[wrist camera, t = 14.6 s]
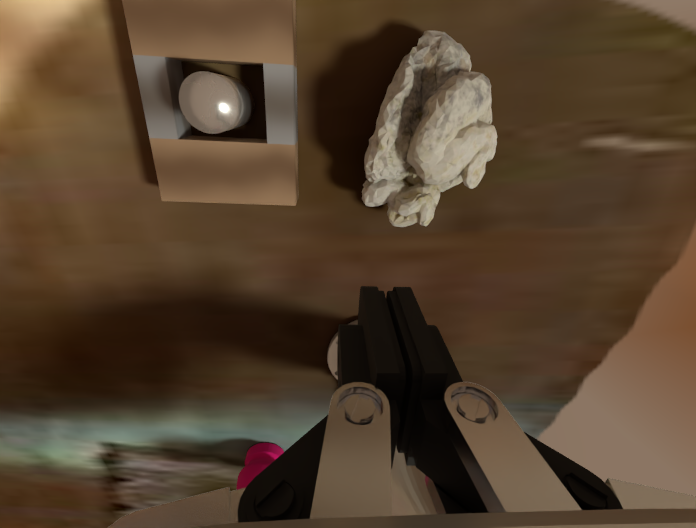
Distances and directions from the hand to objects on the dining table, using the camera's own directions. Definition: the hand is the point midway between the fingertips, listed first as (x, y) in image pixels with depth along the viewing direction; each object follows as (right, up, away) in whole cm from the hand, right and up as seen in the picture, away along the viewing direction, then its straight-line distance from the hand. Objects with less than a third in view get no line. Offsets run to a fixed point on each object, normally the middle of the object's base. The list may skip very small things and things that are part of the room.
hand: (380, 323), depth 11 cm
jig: (-13, +18, +21) cm, 30 cm away
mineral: (+6, +15, +23) cm, 29 cm away
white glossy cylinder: (-12, +18, +21) cm, 30 cm away
